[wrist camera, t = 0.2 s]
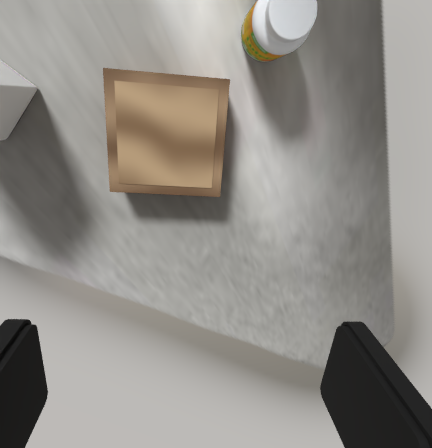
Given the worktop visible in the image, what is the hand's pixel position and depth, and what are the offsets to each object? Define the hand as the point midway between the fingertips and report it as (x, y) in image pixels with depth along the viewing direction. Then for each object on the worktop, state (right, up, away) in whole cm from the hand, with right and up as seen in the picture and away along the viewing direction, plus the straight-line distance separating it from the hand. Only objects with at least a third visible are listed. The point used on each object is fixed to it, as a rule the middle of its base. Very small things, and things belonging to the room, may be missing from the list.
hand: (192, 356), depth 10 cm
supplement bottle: (+6, +25, +24) cm, 35 cm away
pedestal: (-5, +15, +27) cm, 31 cm away
